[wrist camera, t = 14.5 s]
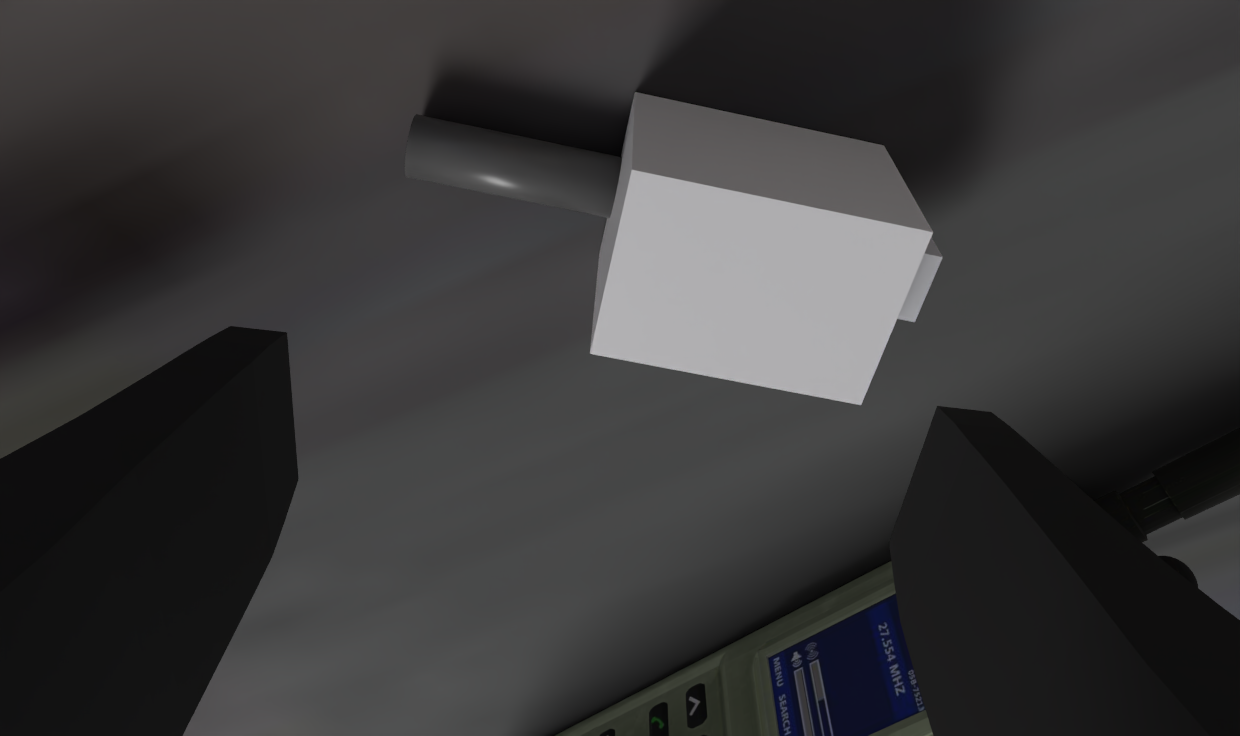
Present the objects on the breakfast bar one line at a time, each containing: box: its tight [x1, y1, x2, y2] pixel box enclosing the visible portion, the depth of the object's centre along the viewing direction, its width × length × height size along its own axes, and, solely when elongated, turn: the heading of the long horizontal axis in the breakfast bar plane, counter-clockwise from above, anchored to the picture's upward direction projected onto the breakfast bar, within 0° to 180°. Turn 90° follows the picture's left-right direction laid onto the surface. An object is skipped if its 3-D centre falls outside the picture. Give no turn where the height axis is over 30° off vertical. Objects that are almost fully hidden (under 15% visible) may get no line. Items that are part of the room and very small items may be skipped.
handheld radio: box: [555, 428, 1240, 736], centre depth 24 cm, size 7×3×25 cm
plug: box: [405, 92, 943, 405], centre depth 18 cm, size 10×4×4 cm, turn 78°
